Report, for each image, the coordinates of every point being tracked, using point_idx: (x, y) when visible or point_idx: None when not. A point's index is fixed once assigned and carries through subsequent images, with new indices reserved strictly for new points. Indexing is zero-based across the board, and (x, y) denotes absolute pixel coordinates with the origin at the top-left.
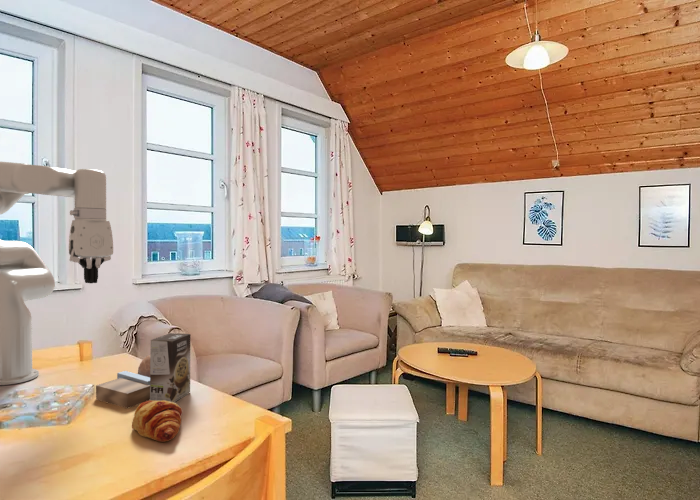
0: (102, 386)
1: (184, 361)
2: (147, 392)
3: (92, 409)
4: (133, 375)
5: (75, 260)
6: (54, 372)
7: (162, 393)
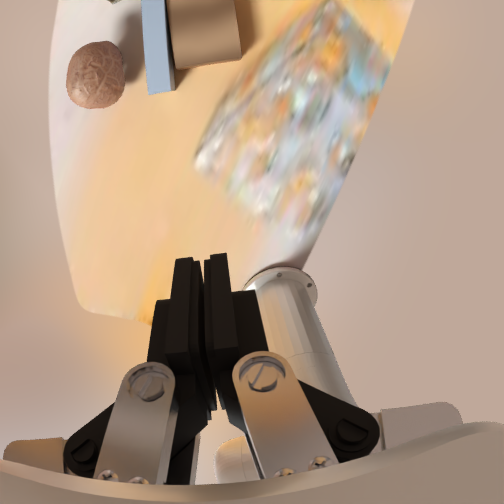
0: (236, 39)
1: None
2: None
3: (271, 17)
4: (156, 43)
5: (424, 421)
6: None
7: None
